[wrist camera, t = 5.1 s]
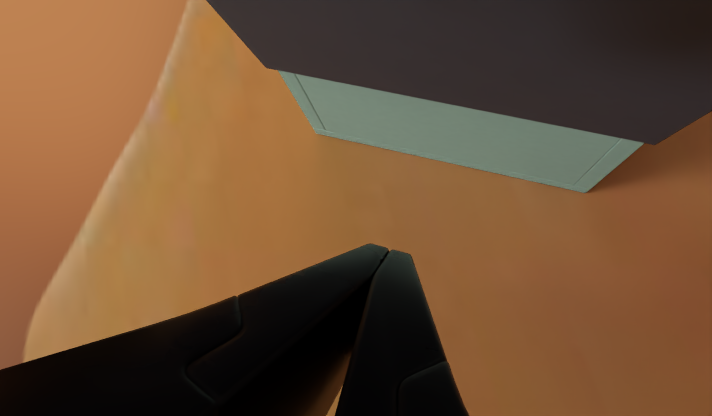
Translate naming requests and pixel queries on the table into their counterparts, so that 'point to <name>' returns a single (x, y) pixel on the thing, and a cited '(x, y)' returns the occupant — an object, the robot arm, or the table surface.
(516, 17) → the dark flat rectangular panel
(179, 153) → the table surface
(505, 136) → the sage green storage tray
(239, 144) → the table surface
